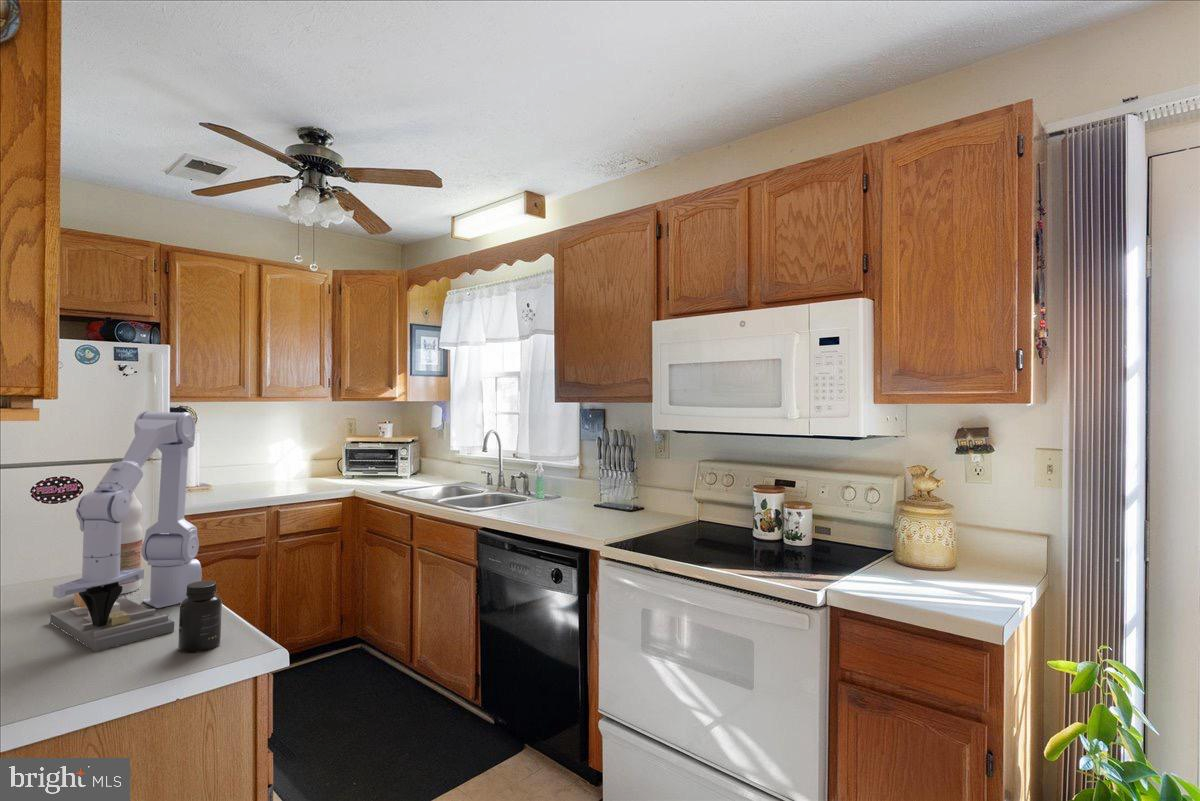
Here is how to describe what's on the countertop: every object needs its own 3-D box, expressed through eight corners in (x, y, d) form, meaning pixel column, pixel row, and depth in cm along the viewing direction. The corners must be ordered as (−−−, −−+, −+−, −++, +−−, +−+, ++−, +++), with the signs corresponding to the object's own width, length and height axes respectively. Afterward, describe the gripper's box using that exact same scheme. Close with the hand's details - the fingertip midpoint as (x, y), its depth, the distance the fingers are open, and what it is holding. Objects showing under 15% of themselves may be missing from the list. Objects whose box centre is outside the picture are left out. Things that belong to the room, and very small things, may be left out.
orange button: (97, 599, 134) (97, 587, 134) (104, 602, 132) (104, 591, 132) (73, 603, 131) (74, 591, 131) (80, 607, 129) (81, 595, 129)
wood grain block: (121, 622, 124) (121, 610, 124) (129, 626, 122) (130, 614, 122) (103, 626, 122) (103, 614, 122) (111, 631, 120) (111, 618, 120)
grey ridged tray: (125, 607, 139) (125, 593, 139) (174, 631, 126) (174, 616, 126) (50, 623, 129) (50, 608, 129) (95, 651, 115) (95, 635, 115)
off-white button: (111, 612, 130) (112, 600, 130) (119, 616, 128) (120, 603, 128) (88, 617, 126) (88, 604, 126) (95, 621, 124) (96, 609, 124)
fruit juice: (82, 597, 145) (86, 476, 145) (105, 585, 154) (108, 472, 154) (129, 595, 147) (133, 477, 147) (148, 584, 156) (152, 472, 156)
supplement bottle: (169, 650, 117) (171, 586, 117) (203, 637, 123) (205, 576, 123) (195, 656, 115) (197, 590, 115) (229, 643, 121) (231, 581, 121)
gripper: (129, 544, 128) (127, 610, 128) (44, 560, 115) (41, 633, 115) (151, 548, 125) (149, 616, 125) (67, 564, 112) (64, 640, 112)
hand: (99, 625), depth 120 cm, fingers closed
